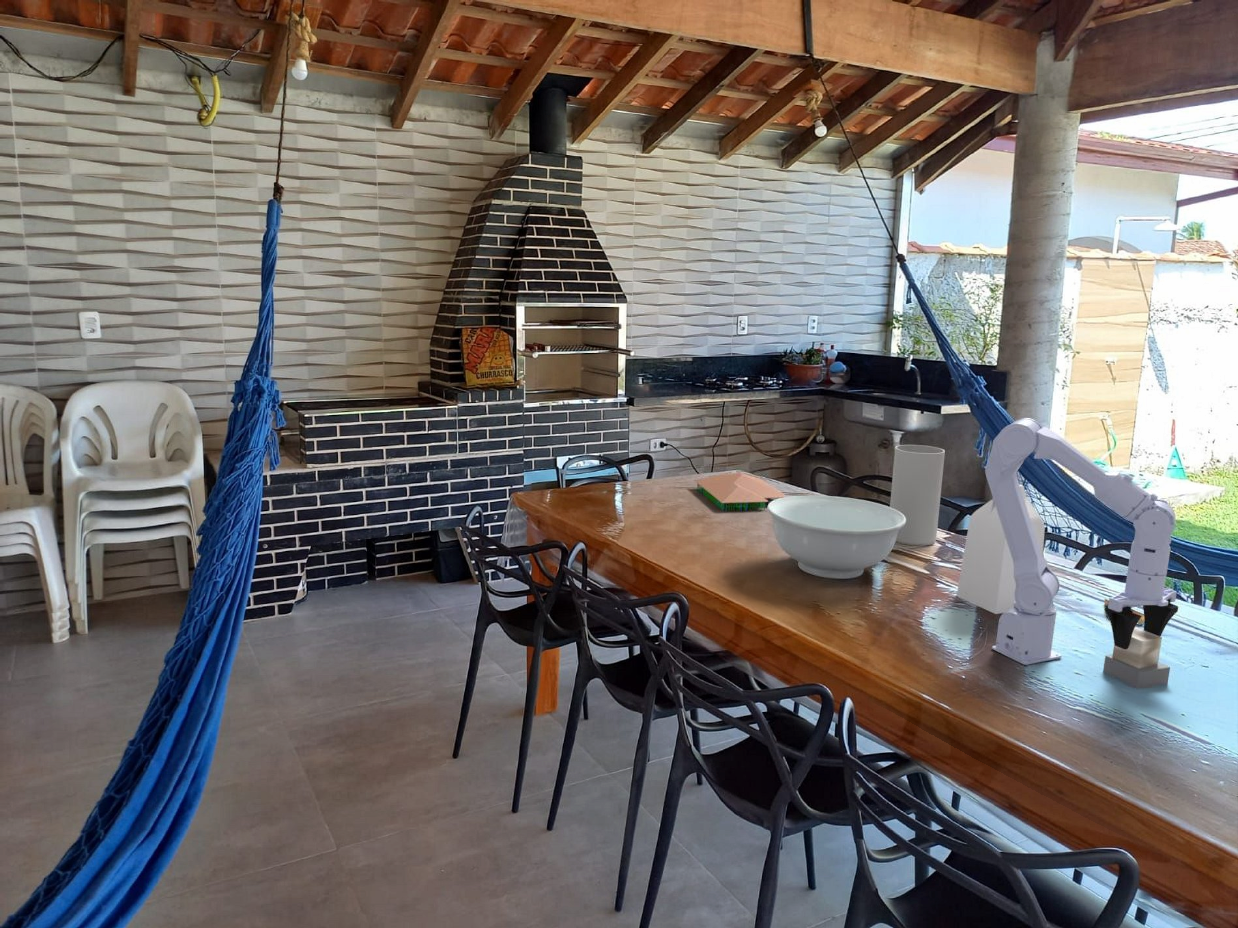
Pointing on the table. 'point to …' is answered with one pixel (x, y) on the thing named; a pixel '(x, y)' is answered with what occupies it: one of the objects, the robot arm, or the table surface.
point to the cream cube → (1140, 649)
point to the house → (738, 490)
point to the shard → (1133, 612)
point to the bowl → (834, 533)
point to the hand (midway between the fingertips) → (1135, 643)
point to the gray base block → (1136, 673)
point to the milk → (992, 559)
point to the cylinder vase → (917, 492)
